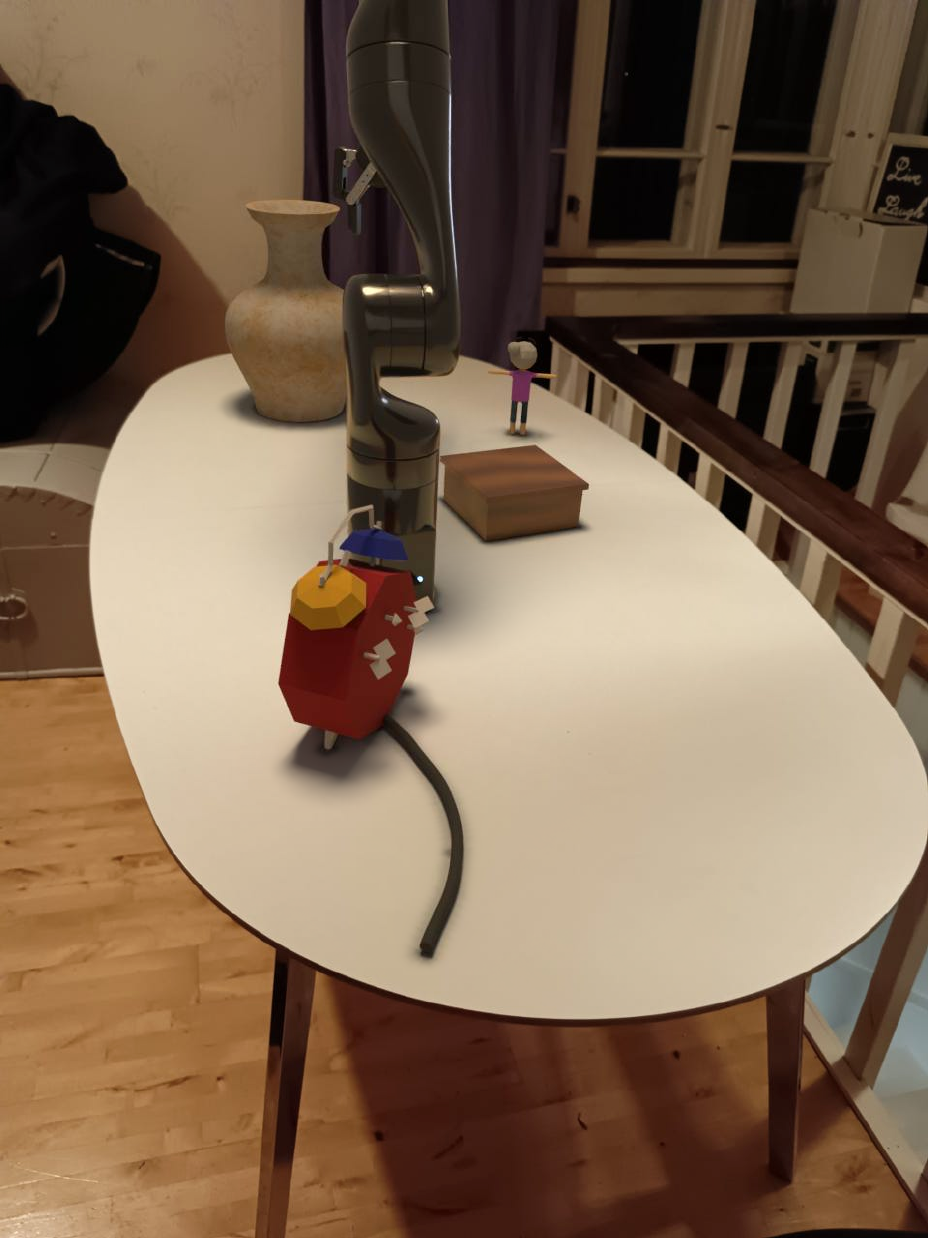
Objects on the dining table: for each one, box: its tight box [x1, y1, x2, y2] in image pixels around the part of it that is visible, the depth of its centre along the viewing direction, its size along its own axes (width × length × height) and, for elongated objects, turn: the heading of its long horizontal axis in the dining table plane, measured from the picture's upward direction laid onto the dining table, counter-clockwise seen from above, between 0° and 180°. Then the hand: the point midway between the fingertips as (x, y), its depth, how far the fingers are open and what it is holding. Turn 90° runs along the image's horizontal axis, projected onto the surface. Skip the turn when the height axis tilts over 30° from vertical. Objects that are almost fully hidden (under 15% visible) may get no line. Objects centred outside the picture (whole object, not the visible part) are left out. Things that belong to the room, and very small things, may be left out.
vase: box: [224, 199, 346, 423], centre depth 146 cm, size 22×22×30 cm
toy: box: [487, 336, 558, 436], centre depth 144 cm, size 10×6×15 cm, turn 84°
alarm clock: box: [277, 505, 435, 750], centre depth 79 cm, size 15×9×20 cm, turn 160°
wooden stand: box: [439, 444, 590, 542], centre depth 122 cm, size 14×14×6 cm
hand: (387, 237), depth 127 cm, fingers open, 8 cm apart
